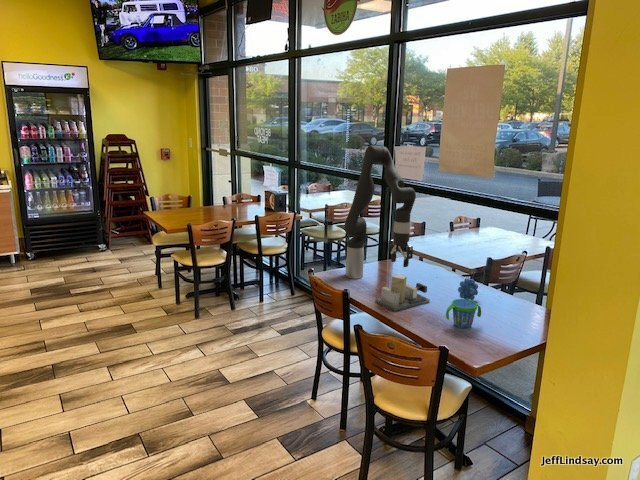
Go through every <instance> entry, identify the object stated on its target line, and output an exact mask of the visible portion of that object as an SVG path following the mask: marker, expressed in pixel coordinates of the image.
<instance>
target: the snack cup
mask: <svg viewBox="0 0 640 480" xmlns="http://www.w3.org/2000/svg"><path fill="white" fill-rule="evenodd" d="M451 310H452V315H453V316H452V318H453V325H454V326H456V327H458V328H460V329H461V328H462V329H468V328H471V327H472V326H473V322H474V320H475V316H476V315H477V317H478V318H480V317H481V316H482V308H481V306H480V305H479V304H478V303H476V302H475V301H473V300H467V299H464V298H457V299H456V298H455V299H454V300H452V301H451V304H450V305H449V306H448V307H447V309H446V312H445V317H446V320H448V321H449V320H450V311H451ZM476 310H477V313H476ZM475 314H476V315H475Z"/></svg>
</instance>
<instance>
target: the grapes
mask: <svg viewBox="0 0 640 480" xmlns="http://www.w3.org/2000/svg"><path fill="white" fill-rule="evenodd" d="M478 289H479V285H478V284H477V283H476V280H475V279H474V278H471V279H470V278H469V277H466V278H464V281H463V280H462V281H460V282H459V287H458V289H457V291H458V293H459V299H467V300H471V301H473V300H475V296H477V295H478V294H479V291H478Z"/></svg>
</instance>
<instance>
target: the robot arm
mask: <svg viewBox="0 0 640 480" xmlns="http://www.w3.org/2000/svg"><path fill="white" fill-rule="evenodd" d="M373 165H377V166H379V165H381V166H383V168H385V170H384V175H383V179H384V180H385V183H386V184H387V186H388V187H389V189H390V194H391V198H392V201H393V202H394V203H395V204H403V205H402V206H400V207H398V208H395V212H394V221H393V222H394V223H393V229H392V231H393V233H392V239H390V240H389V241H388V248H387V249H388V250H387V251H388V253H390V261H391V263H396V262H397V253H400V254H401V256H402V257H403V265H402V267H403V268H407V267H409V264H410V263H409V261H410V260H411V259H413V256H414V255H413V251H414V248H413V245H409V242H410V234H411V213H412V211H413V206H414V203H415V201H416V196H417V194H416V191H415V189H414V188H413V187H405V182H404V180H403V178H402V176H401V175H400V174H399V171H398V170H397V169H396V166H395V163H394V161H393V158H392V155H391V153H390V151H389V149H388V147H386V146H383V145H368V146H367V148H366V149H365V152H364V156H363V160H362V165H361V171H360V174H359V178H358V182H357V185H356V189H355V192H354V197H353V199H352V203H351V206H350V210H349V212H348V214H347V216H346V219H345V221H344V226H343V227H344V232H345V234H346V235H348V236H352V237H350V239H349V240H348V241H347V242H346V258H345V272H344V273H345V275H346V278H349V279H353V280H356V279H362V278H363V277H364V261H365V259H364V257H365V256H364V253H365V244H366V239H367V221H366V220H365V218H364V217H362V216H360V215H361V214H362V212H363V211H364V210H365V209H366V208H367V207H368V206H369V205H370V203H371V202H372V199H373V197H374V194H375V188H376V187H375V184H374V179H373V178H372V168H373Z"/></svg>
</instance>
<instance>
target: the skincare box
mask: <svg viewBox="0 0 640 480" xmlns="http://www.w3.org/2000/svg"><path fill="white" fill-rule="evenodd" d="M407 279H408V277H407V275H402V274H401V275H400V274H396V273H395V274H393V275H392V276H391V283H390V289H392V290H394V291H396V292H398V293H400V296H399V303H402V302H403V301H404V300H405V290H406V284H407Z"/></svg>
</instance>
